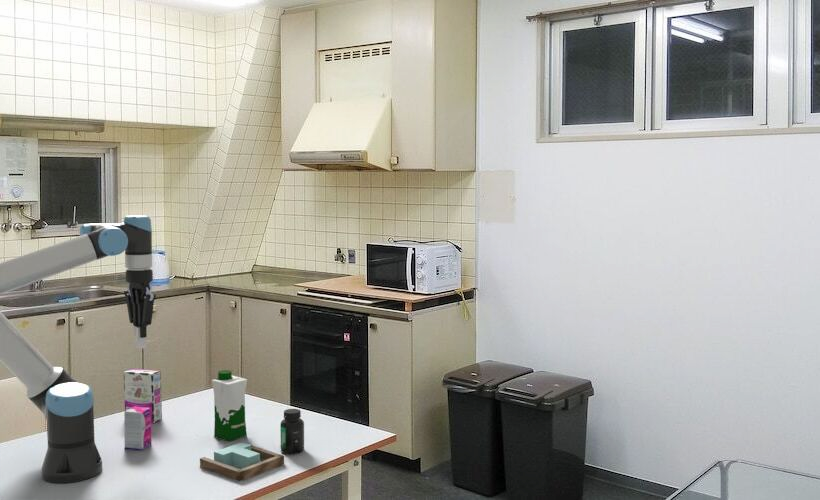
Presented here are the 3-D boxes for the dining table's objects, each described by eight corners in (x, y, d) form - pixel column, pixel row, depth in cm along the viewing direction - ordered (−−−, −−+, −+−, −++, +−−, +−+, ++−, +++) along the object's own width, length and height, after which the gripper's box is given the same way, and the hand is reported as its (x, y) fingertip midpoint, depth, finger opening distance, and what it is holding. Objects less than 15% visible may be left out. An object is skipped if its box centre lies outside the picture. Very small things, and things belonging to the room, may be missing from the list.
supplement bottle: (282, 455, 231) (281, 415, 230) (279, 448, 238) (279, 408, 236) (305, 453, 233) (305, 413, 232) (302, 446, 239) (302, 406, 238)
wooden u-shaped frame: (239, 481, 212) (239, 472, 212) (200, 467, 222) (199, 458, 222) (284, 464, 224) (284, 455, 224) (244, 451, 234) (244, 443, 234)
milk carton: (231, 430, 254) (230, 367, 252) (251, 435, 248) (250, 372, 246) (209, 437, 247) (208, 373, 245) (229, 443, 241) (228, 378, 239)
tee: (240, 475, 217) (240, 460, 216) (214, 465, 223) (213, 451, 223) (268, 464, 224) (268, 450, 224) (242, 455, 231) (241, 442, 231)
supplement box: (142, 451, 234) (141, 412, 233) (124, 449, 235) (122, 411, 234) (152, 444, 240) (151, 407, 239) (134, 442, 241) (133, 405, 240)
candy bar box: (162, 419, 264) (161, 370, 262) (153, 424, 259) (152, 374, 257) (133, 416, 267) (132, 367, 265) (124, 420, 262) (122, 371, 261)
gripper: (163, 269, 233) (165, 349, 236) (137, 265, 241) (139, 342, 244) (140, 271, 227) (142, 353, 230) (115, 267, 236) (117, 347, 238)
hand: (141, 347), depth 237 cm, fingers closed
